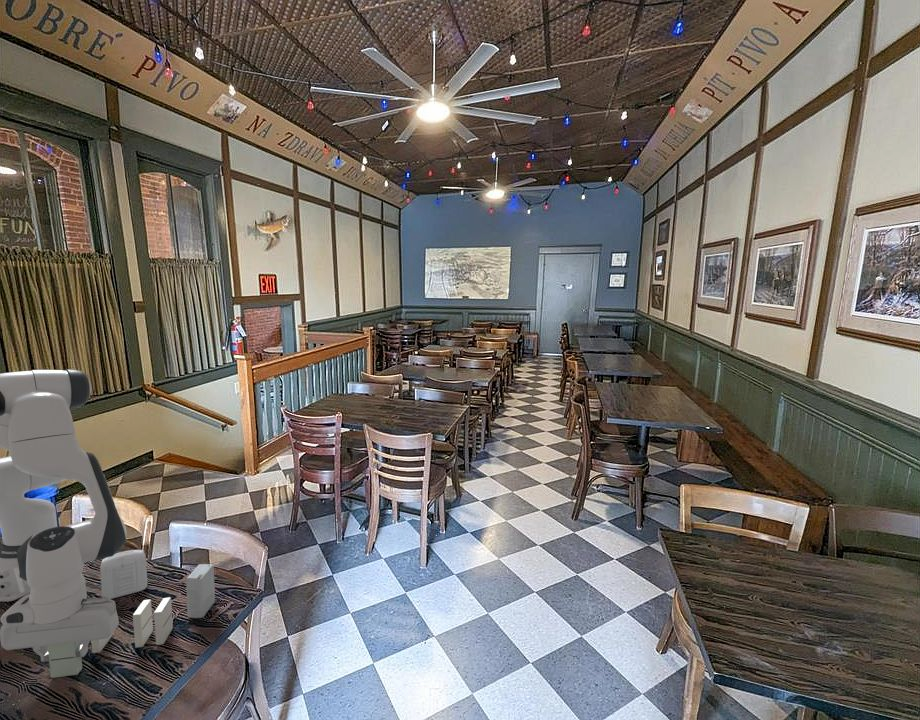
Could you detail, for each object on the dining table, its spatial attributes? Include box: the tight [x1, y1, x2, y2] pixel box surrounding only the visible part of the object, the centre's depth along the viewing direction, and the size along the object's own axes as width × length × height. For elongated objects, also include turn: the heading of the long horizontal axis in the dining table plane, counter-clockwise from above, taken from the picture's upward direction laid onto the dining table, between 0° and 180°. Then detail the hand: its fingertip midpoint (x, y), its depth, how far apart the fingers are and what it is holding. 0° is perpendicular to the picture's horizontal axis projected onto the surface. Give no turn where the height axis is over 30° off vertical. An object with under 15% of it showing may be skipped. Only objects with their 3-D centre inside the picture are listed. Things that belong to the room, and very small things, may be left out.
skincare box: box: [185, 563, 216, 619], centre depth 111 cm, size 6×4×12 cm
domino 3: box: [153, 596, 174, 646], centre depth 103 cm, size 2×5×9 cm, turn 13°
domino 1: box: [90, 633, 113, 654], centre depth 100 cm, size 2×5×9 cm, turn 13°
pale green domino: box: [48, 642, 83, 679], centre depth 91 cm, size 2×5×9 cm, turn 102°
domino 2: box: [132, 599, 154, 649], centre depth 102 cm, size 2×5×9 cm, turn 13°
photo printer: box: [99, 549, 148, 600], centre depth 117 cm, size 10×4×12 cm, turn 123°
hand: (65, 656), depth 91 cm, fingers closed on pale green domino, 5 cm apart
